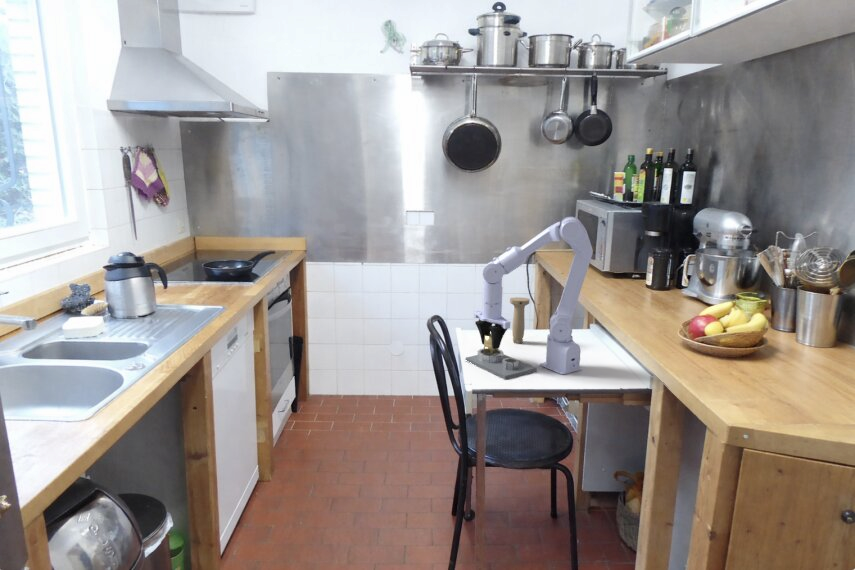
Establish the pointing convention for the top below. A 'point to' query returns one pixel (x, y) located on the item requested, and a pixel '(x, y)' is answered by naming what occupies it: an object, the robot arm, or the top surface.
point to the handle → (518, 318)
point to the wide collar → (490, 356)
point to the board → (497, 367)
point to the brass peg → (489, 344)
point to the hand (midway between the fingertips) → (490, 345)
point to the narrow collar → (510, 363)
